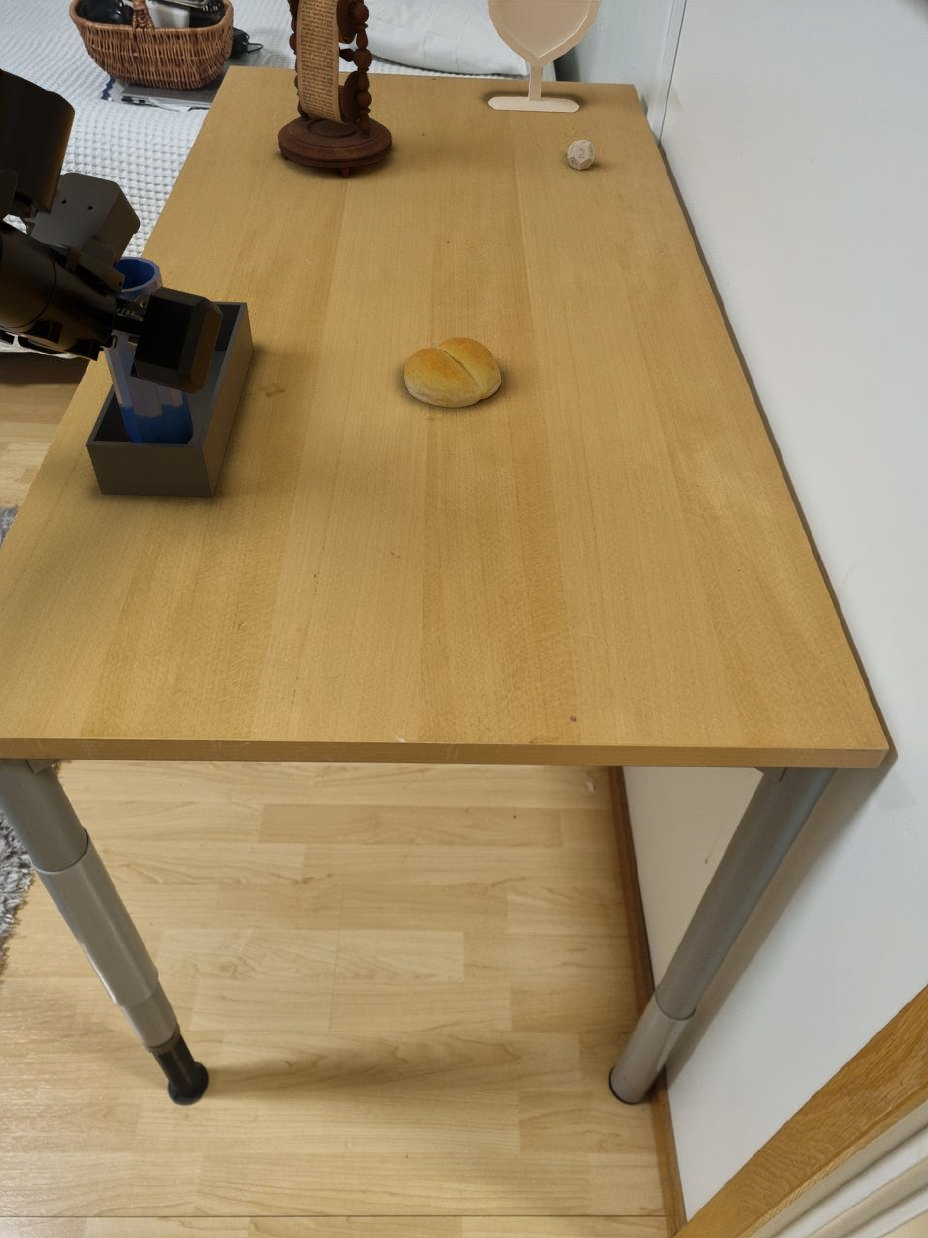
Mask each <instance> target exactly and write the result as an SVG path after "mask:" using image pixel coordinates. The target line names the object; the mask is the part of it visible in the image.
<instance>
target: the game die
mask: <svg viewBox="0 0 928 1238" xmlns="http://www.w3.org/2000/svg"><path fill="white" fill-rule="evenodd" d="M595 157H596V150H595V148H594V146H593V143H592V142H590V141H588V140H586V139H579V140H575V141H573V143H571V145H570V147H568V149H567V160H568V163H569V165H570V167H571V168H572V169H575V170H577V171H583V170H587V169H589V168H590V167H591V165H592V164H593V163H594V161H595Z"/></svg>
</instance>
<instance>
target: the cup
mask: <svg viewBox="0 0 928 1238" xmlns="http://www.w3.org/2000/svg"><path fill="white" fill-rule="evenodd" d="M113 268H114V269H116V270H117V271H119V272H121V273H122V274H124V275H125V279H124V283H123V287H122V291H121V293H114V297H118V298H122V299H126V300H130V301H134V300H135V299H136V298H137V297H138V296H139V295H141V294H149V295H151V292H155V291H156V290H157V289H158V288H160V287H161V286H162V287H164V283H163V282H164V281H163V278H162V273H161V269H160V266H159V265H158V264H157V263H155V262H154V260H153V261H152V260H150V259H147V258H144V257H140V256H127V255H126V256H122V257H121V259H120V260H119V262H118V263H117V264H116V265H115V266H113ZM117 315H120V316H124V317H128V318H132V319H134V317H132V316H131V315H130V316H127V315H126V314H125V315H123V314H121V312H120V314H118V313H117ZM136 316H139V317H141V316H140V315H138V314H136ZM111 335H112V336H113V335H116V336H117V338H118V341H117V345H116V348H115V349H114V350H109V349H106V348H103V349H104V351H103V352H104V357H105V360H106V363H107V367H108V371H109V374H110V377H111V381H112V384H113V385H114V389H115V392H116V396H117V399H118V403H119V407H120V410H121V414H122V417H123V421H124V425H125V428H126V432H127V435H128V437H129V441H130V442H136V443H166V444H187V443H188V442H189V441H190V440H191V439H192V437H193V434H194V428H193V423H192V418H191V414H190V409H189V404H188V400H187V395H186V392H184V391H181V390H177V389H173V388H169V387H166V386H162V385H159V384H156V383H153V382H149V381H146V380H142V379H138V378H135V377H131V376H130V372H131V369H132V365H133V361H134V356H135V353H134V350H135V348H136V347H137V346H134V345H132V344H130V343H128V339H129V336H126V335H123V334H119V333H115V332H112V334H111Z"/></svg>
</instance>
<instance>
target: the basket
mask: <svg viewBox="0 0 928 1238" xmlns="http://www.w3.org/2000/svg"><path fill="white" fill-rule="evenodd" d="M211 301H212V302H213V303H215V304H216V305H218V307H219V309H220V311H221V312H222V314H223V318H222V322H221V326H220V329H219V333H218V337H217V341H216V345H215V348H214V352H213V356H212V360H211V364H210V367H209V371H208V375H207V379H206V383H205V386H204V389H202V390H201V391H199V392H198V393H196V394H192V393H188V392H186V395H187V400H188V404H189V409H190V414H191V418H192V423H193V428H194V434H193V437H192V439H191V440H190V441H189V442H188V443H187V444H166V443H136V442H130V441H129V437H128V435H127V432H126V428H125V425H124V421H123V417H122V414H121V410H120V407H119V403H118V399H117V396H116V392H115V389H114V385H113V383H112V384H111V386H110V388H109V391H108V393H107V395H106V397H105V400H104V402H103V404H102V407H101V408H100V411H99V413H98V415H97V417H96V420H95V422H94V424H93V427H92V429H91V431H90V434H89V436H88V438H87V441H86V442H85V447H86V451H87V453H88V456H89V459H90V462H91V466H92V468H93V471H94V475H95V478H96V481H97V484H98V488H99V491H100V492H101V495H122V496H123V495H125V496H127V495H128V496H154V497H155V496H156V497H158V496H159V497H186V498H187V497H188V498H189V497H190V498H213V497H214V494H215V490H216V487H217V483H218V481H219V480H218V479H219V477H220V472H221V468H222V465H223V461H224V458H225V454H226V450H227V446H228V443H229V441H230V436H231V433H232V429H233V426H234V422H235V418H236V414H237V411H238V407H239V403H240V400H241V396H242V393H243V390H244V386H245V382H246V379H247V375H248V371H249V369H250V368H249V367H250V363H251V361H252V356H253V353H254V351H255V350H254V342H253V336H252V335H253V334H252V329H251V322H250V314H249V307H248V303H247V302H246V301H245V302H243V301H240V302H239V301H219V300H218V301H216V300H211Z"/></svg>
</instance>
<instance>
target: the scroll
mask: <svg viewBox="0 0 928 1238" xmlns="http://www.w3.org/2000/svg"><path fill="white" fill-rule="evenodd" d="M286 2H287V3H288V5H289V10H288V11H289V12H290V16H291V22H290V28H291V31H292V33H291V34H290V36H289V38H288V43H289V47H290V49H291V50H292V51H293V52H292V53H293V55H294V56H295V61H294V68H293V69H294V71H295V73H296V75H295V76H294V79H293V84H294V87H295V89H297V92H296V96H297V97H298V102H297V107H296V108H297V109H296V111H297V112H298V114H299V115H300V116H299V117H296V118H294V119H293V120H290V121H289V122H287V123H286V124H285V125H283V126H282V127H281V128H280V130H279V131H278V134H277V143H278V144H277V145H278V149H279V150H280V154H281V156H282V158H283V160H285V161H287V160H289V159H290V160H292V161H294V162H296V163H299V164H303V165H307V166H311V167H315V168H327V169H328V168H329V169H340V172H341V174H342V176H343V177H344V178H348V177H349V174H350V171H351V170H350V169H351V168H355V167H361V166H366V165H370V164H372V163H375V162H378V161H380V160H382V159H383V158H386V157H387V156H388V155H389V154H390V153H391V151H392V149H393V135H392V132H391V131H390V129H389V128H388V127H387V126H385V125H384V124H382V123H381V122H379V121H378V120H376V119H374V118H373V117H370V115H369V114H370V113H371V112H372V111H371V108H370V106H371V105H372V102H373V101H372V100H373V98H372V94H371V93H370V91H369V89H370V87H371V83H370V79H369V75H368V72H369V71H370V67H371V65H372V64H373V63H372V62H373V55H372V52H371V50H369V49H368V47H369V38H368V33H367V30H366V29H368V28H369V24H368V23H366V22H367V21H368V20H369V18H370V9H369V8H368V6H367V5H366V4H365V0H286ZM354 42H355V45H356V47H357V48H356V49H355V50H354V49H352V48H350V47H346V48H345V47H344V48H341V47H340V44H343V45H351V44H352V43H354ZM340 59H342V60H343V61H345V62H346V63H352V62H353V64H354V65H355V67H356V69H355V70H353V71H351V72H350V73H349V74H348V76H347V77H346V79H345V81H344V83H343V85H342V84H339V81H340V80H339V79H340V77H339V76H340Z"/></svg>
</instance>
